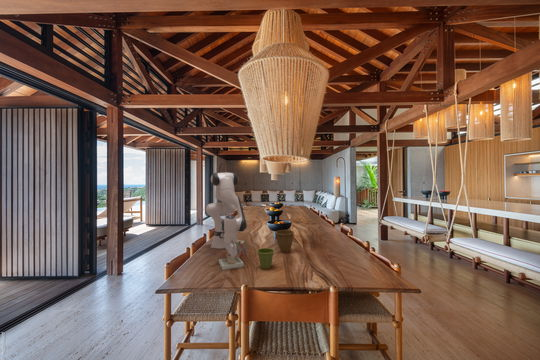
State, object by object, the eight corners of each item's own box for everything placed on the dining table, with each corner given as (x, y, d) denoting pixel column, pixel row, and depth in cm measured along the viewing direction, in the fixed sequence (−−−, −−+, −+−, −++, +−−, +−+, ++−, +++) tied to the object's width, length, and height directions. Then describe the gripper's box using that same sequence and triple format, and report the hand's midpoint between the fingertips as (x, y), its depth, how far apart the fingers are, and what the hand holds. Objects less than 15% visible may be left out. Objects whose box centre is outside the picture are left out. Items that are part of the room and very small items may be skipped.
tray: (218, 263, 169) (218, 259, 169) (238, 260, 174) (238, 256, 174) (222, 270, 156) (222, 265, 156) (243, 267, 161) (243, 262, 161)
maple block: (226, 261, 167) (226, 254, 166) (233, 260, 168) (233, 253, 168) (228, 263, 162) (228, 256, 162) (235, 262, 164) (235, 255, 164)
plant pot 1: (258, 271, 154) (257, 253, 154) (256, 264, 166) (256, 248, 166) (276, 269, 156) (275, 252, 156) (273, 263, 168) (273, 247, 168)
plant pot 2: (277, 248, 204) (277, 229, 204) (294, 249, 201) (294, 230, 201) (274, 253, 190) (274, 233, 190) (293, 254, 187) (292, 234, 187)
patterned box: (238, 251, 197) (238, 236, 196) (245, 252, 195) (245, 237, 195) (226, 260, 176) (226, 243, 176) (234, 261, 174) (234, 244, 174)
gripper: (239, 242, 157) (239, 263, 157) (231, 235, 176) (231, 254, 176) (229, 243, 154) (229, 264, 154) (223, 236, 173) (223, 255, 173)
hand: (230, 259), depth 165 cm, fingers closed on maple block, 5 cm apart
